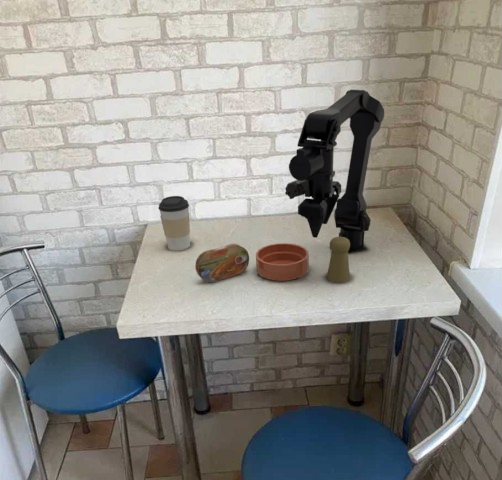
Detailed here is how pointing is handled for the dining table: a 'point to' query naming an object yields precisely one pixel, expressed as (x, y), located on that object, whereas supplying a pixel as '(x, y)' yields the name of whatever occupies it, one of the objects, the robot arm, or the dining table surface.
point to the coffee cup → (175, 222)
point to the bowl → (282, 261)
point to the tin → (222, 262)
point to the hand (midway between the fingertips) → (319, 230)
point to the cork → (339, 260)
